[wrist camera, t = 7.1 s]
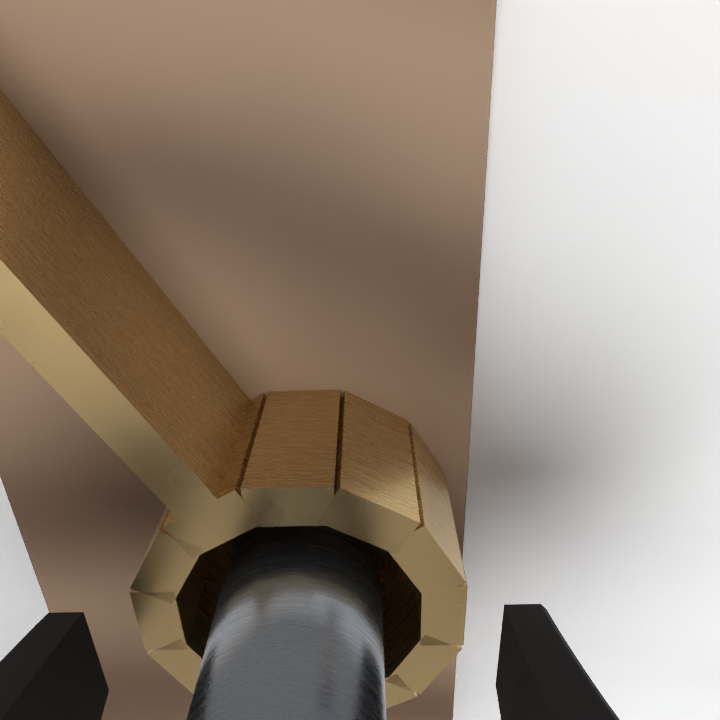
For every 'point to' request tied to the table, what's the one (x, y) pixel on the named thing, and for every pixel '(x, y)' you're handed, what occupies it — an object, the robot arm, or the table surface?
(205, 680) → the pin
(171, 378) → the hinge
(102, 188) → the board
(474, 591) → the table surface
